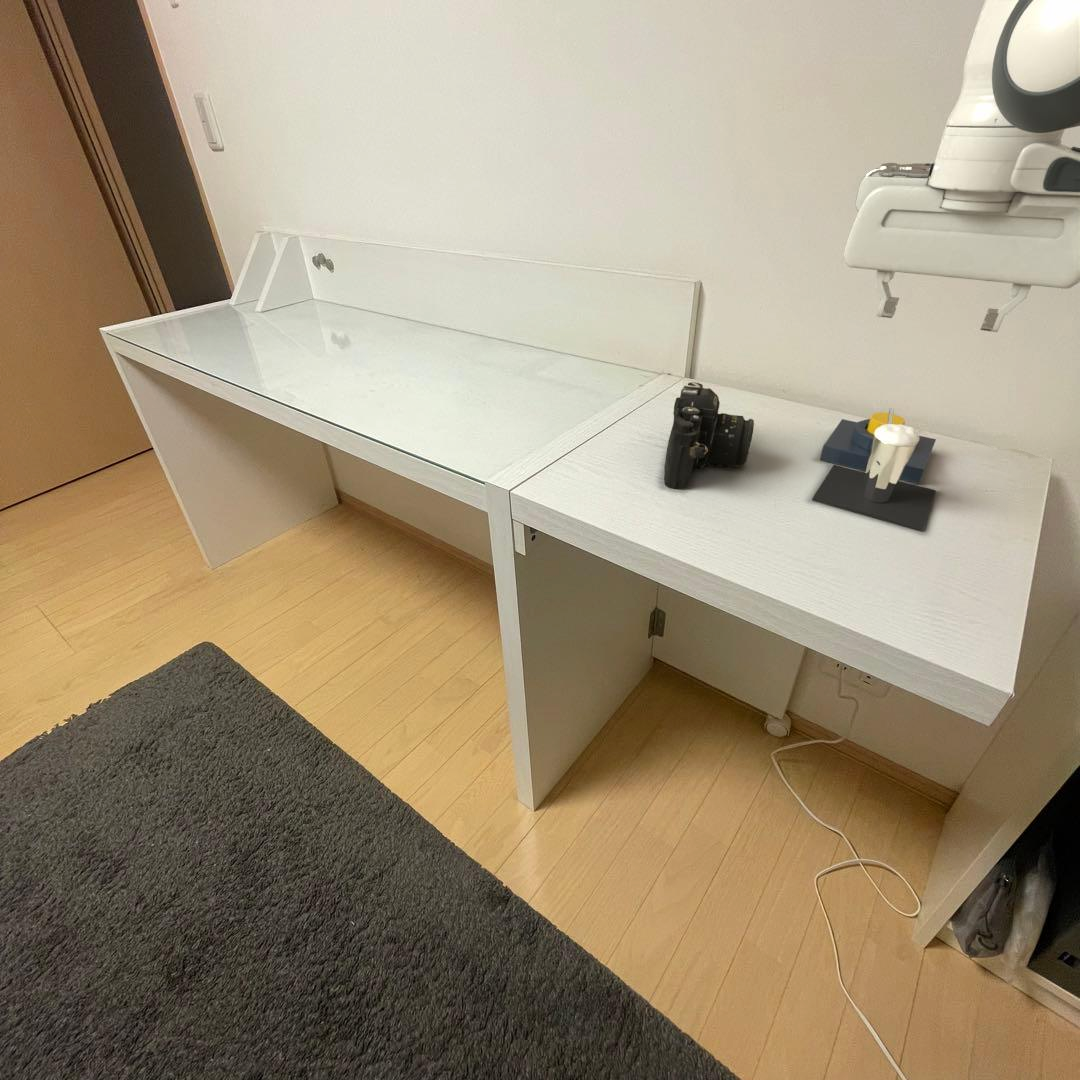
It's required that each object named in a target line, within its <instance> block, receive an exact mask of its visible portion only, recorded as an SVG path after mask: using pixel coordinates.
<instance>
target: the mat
mask: <svg viewBox="0 0 1080 1080" xmlns="http://www.w3.org/2000/svg"><path fill="white" fill-rule="evenodd" d="M864 476H865V471H861V470H857V469H853V468H849V467H845V466H841V465H837V464H833V465H832V466H831V468H830V470H829V471H828V473H827V475H826V476H825V478H824V479H823V480H822V482H821V483H820V486H819V487H818V488H817V490H816V491H815V492H814V493H815V494H814V495H813V496H812V498H811V501H813V502H816V503H819V504H823V505H826V506H830V507H834V508H837V509H840V510H844V511H847V512H851V513H854V514H859V515H862V516H866V517H869V518H873V519H877V520H880V521H883V522H887V523H890V524H894V525H898V526H901V527H905V528H908V529H912V530H914V531H919V532H923V530H924V527H925V525H926V521H927V519H928V516H929V512H930V510H931V507H932V503H933V500H934V498H935V496H936V492H937V490H936V489H934V488H933V489H932V488H928V487H926V486H925V487H924V486H921V485H917V484H913V483H909V482H905V481H901V480H899V481H898V483H897V486H896V488H895V490H894V492H893V494H892V496H891V498H890V499H889V501H888V502H883V503H877V502H872V501H869V500H867V499H865V498H863V496H862V495H861V489H862V485H863V481H864Z"/></svg>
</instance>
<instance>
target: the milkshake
mask: <svg viewBox="0 0 1080 1080" xmlns="http://www.w3.org/2000/svg"><path fill="white" fill-rule="evenodd" d="M888 413H889V416H888V424H884V425H882V426H880V427H878V428H877V429H876V430H875V432H874V436H873V441H872V446H871V451H870V456H869V460H868V464H867V468H866V472H865V471H864V472H865V476H864V481H863V485H862V489H861V495H862V496H863V498H865V499H867V500H869V501H872V502H877V503H883V502H888V501H889V499H890V498H891V496H892V494H893V492H894V490H895V488H896V486H897V483H898V481H900V480H899V479H900V477H901V475H902V473H903V471H904V469H905V466H906V464H907V462H908V461H909V459H910V457H911V455H912V453H913V451H914V449H915V447H916V445H917V443H918V442H919V439H920V438H919V436H920V435H919V433H918V431H917V429H916V428H915V427H913V426H907V425H905V424H904V425H902V424H899V425H896V424H892V418H893V414H894V408H889V410H888Z"/></svg>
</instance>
